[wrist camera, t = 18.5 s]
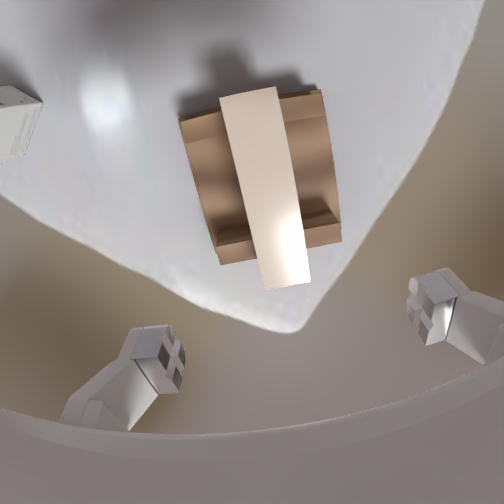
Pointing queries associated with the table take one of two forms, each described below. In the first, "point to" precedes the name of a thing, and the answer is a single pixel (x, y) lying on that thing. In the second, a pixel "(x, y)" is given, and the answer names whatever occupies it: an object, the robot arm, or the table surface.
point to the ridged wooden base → (227, 183)
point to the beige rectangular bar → (267, 185)
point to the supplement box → (16, 121)
